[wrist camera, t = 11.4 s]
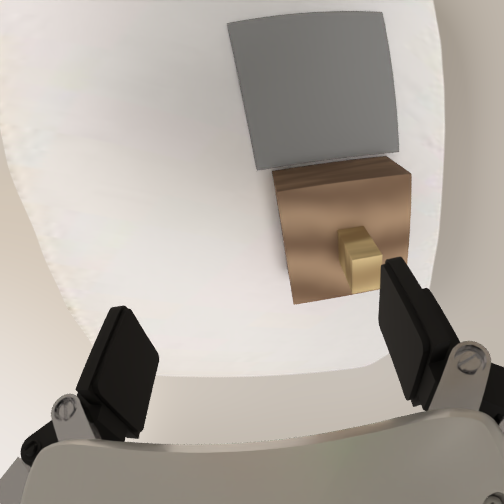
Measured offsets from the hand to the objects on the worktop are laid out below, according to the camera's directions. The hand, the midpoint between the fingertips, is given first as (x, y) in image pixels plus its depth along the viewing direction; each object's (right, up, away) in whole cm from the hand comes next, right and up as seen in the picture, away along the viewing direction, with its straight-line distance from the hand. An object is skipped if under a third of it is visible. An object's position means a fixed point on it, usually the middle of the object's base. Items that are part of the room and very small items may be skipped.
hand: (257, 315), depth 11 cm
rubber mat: (+8, +21, +20) cm, 30 cm away
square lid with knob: (+11, +7, +29) cm, 32 cm away
